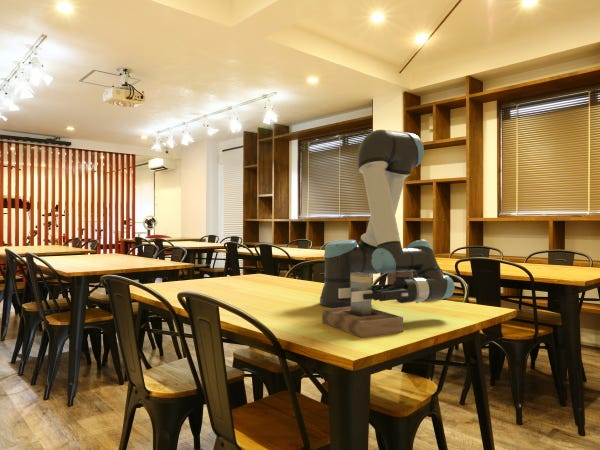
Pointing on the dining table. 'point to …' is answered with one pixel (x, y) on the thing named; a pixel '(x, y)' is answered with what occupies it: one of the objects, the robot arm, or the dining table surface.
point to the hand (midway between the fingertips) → (345, 295)
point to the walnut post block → (362, 322)
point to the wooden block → (392, 276)
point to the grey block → (360, 284)
